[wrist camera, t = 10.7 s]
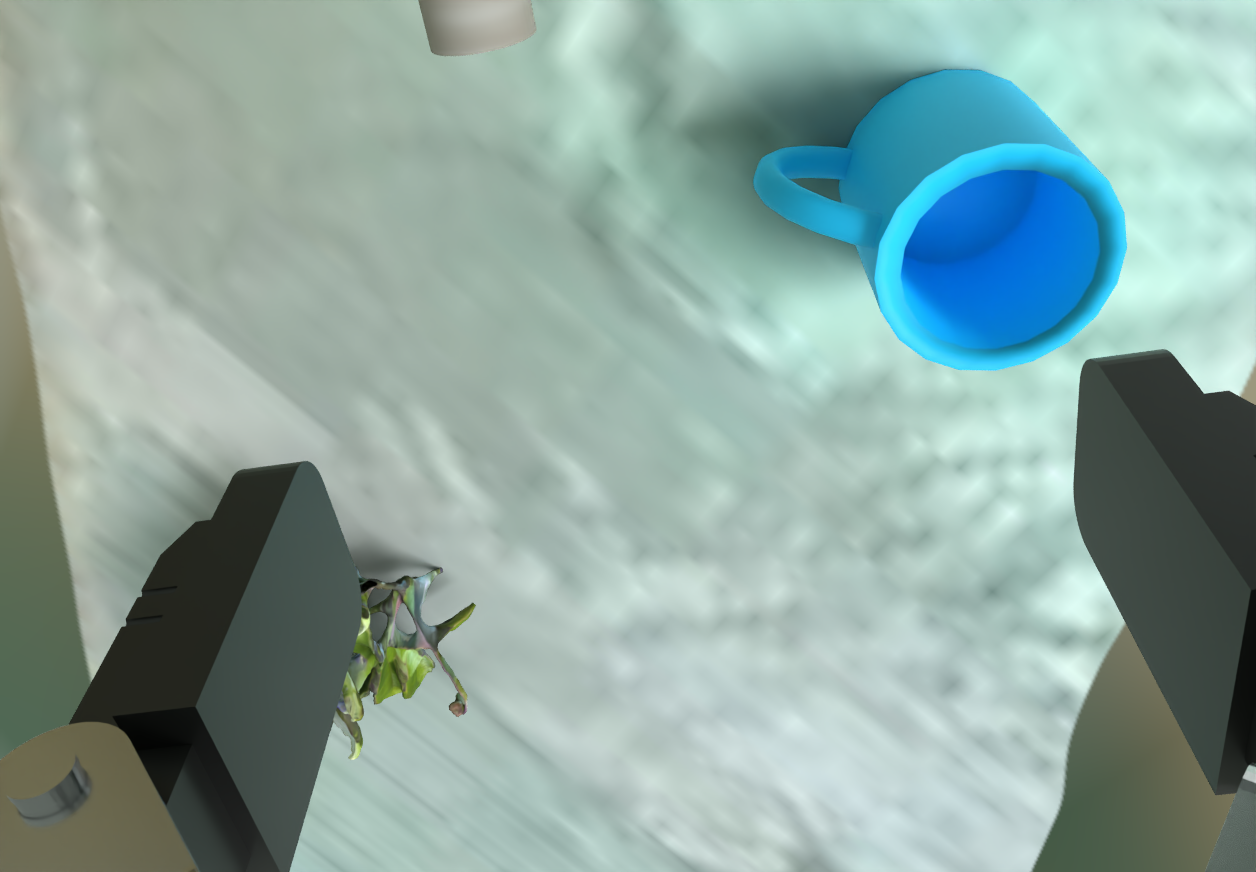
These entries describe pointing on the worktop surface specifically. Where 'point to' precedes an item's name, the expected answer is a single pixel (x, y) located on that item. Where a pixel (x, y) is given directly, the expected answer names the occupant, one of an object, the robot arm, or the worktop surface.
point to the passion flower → (394, 654)
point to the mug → (964, 219)
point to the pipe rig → (476, 25)
